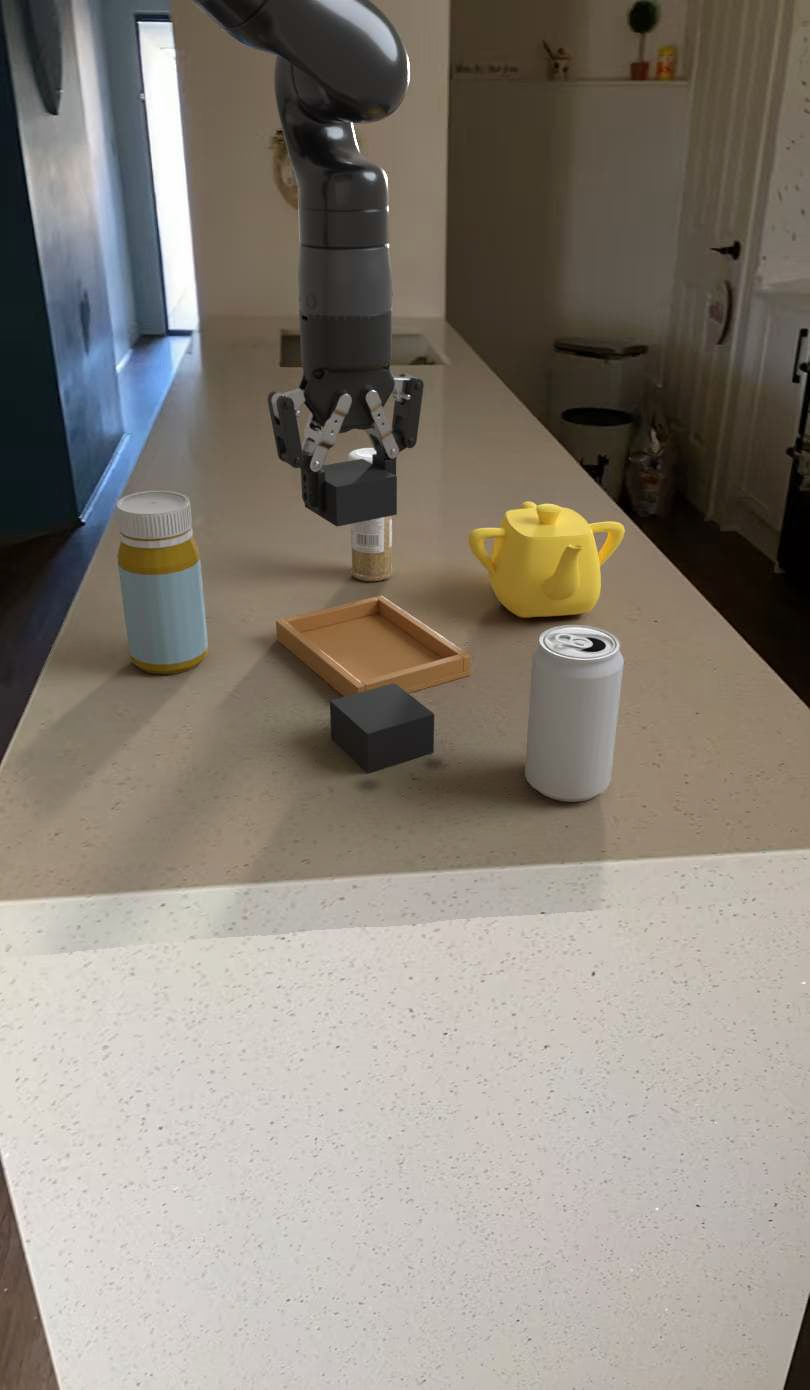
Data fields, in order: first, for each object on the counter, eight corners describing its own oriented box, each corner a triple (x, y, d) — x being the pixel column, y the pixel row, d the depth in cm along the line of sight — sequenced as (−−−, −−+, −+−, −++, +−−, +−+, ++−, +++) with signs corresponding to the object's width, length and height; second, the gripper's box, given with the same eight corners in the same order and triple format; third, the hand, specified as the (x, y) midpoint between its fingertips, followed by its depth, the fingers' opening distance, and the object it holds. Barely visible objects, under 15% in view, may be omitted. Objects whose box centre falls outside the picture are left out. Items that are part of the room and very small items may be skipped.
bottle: (185, 682, 96) (168, 519, 89) (116, 669, 98) (94, 509, 91) (221, 649, 102) (209, 494, 95) (155, 638, 104) (138, 485, 96)
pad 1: (336, 526, 93) (335, 487, 91) (304, 506, 97) (303, 468, 95) (397, 514, 95) (397, 475, 94) (363, 495, 100) (362, 458, 98)
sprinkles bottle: (400, 571, 119) (400, 450, 112) (379, 586, 115) (378, 461, 109) (363, 564, 121) (362, 444, 114) (342, 577, 117) (339, 454, 111)
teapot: (635, 602, 112) (647, 506, 107) (571, 644, 103) (580, 541, 98) (523, 570, 119) (529, 478, 115) (454, 606, 111) (457, 509, 106)
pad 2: (367, 773, 83) (367, 734, 82) (330, 738, 88) (329, 700, 86) (433, 752, 86) (434, 713, 84) (394, 719, 90) (394, 682, 89)
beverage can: (600, 815, 79) (617, 667, 73) (514, 797, 80) (523, 651, 75) (616, 770, 84) (633, 629, 78) (535, 754, 86) (546, 615, 80)
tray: (357, 708, 92) (356, 687, 91) (276, 639, 104) (275, 620, 103) (470, 675, 97) (471, 655, 96) (381, 613, 109) (381, 595, 108)
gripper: (397, 290, 94) (397, 479, 102) (244, 304, 87) (257, 505, 95) (445, 303, 88) (441, 502, 97) (285, 319, 82) (295, 531, 90)
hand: (349, 503), depth 96 cm, fingers closed on pad 1, 6 cm apart
